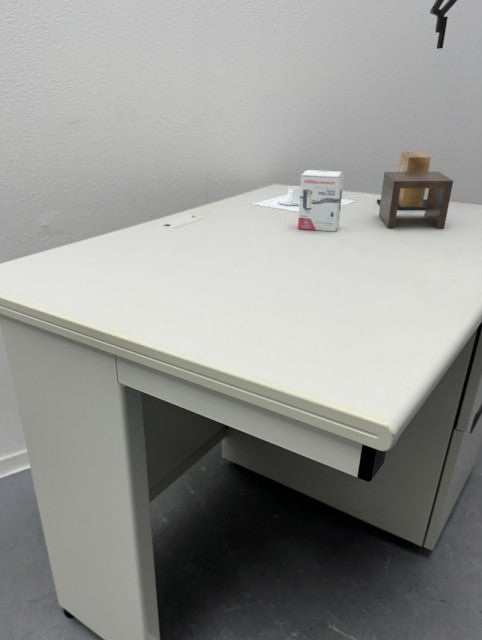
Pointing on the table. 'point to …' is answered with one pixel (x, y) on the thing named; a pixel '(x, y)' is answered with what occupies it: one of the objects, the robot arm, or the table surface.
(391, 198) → the shelf
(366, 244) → the table surface
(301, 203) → the ink box
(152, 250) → the table surface
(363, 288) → the table surface
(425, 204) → the mat
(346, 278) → the table surface
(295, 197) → the teacup and saucer
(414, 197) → the tape carton
